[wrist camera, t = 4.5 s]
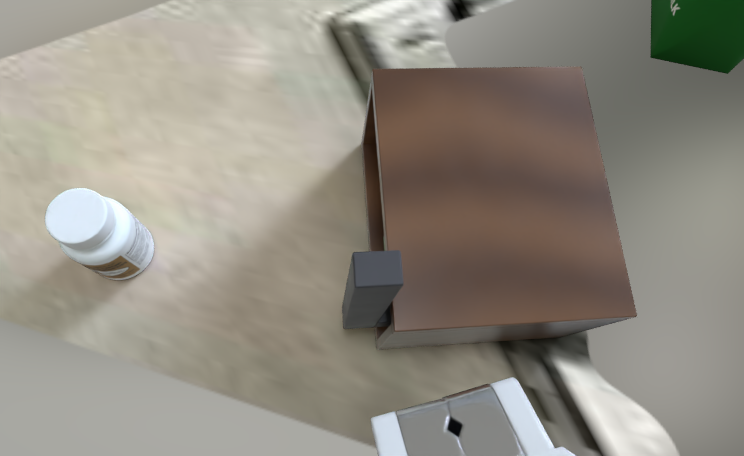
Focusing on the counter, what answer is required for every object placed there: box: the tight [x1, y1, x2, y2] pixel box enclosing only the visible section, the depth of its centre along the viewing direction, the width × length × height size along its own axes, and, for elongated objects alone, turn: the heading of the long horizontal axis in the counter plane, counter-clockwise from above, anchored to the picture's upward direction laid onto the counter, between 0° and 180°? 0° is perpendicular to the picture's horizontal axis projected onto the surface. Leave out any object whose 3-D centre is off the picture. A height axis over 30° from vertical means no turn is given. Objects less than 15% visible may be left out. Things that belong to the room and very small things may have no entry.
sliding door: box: [342, 237, 404, 329], centre depth 30 cm, size 7×4×16 cm, turn 4°
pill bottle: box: [45, 188, 154, 280], centre depth 34 cm, size 4×4×8 cm
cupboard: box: [361, 67, 637, 349], centre depth 36 cm, size 16×14×10 cm
